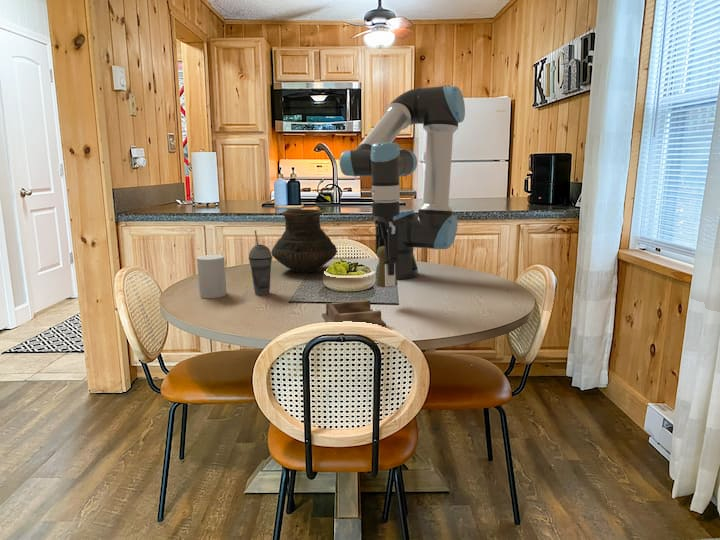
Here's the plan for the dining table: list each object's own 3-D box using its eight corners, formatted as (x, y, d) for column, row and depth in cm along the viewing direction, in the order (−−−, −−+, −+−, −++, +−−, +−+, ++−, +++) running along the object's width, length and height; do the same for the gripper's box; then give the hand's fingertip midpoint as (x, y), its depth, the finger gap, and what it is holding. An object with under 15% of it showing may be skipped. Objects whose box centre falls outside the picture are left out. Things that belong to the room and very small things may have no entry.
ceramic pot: (284, 263, 208) (282, 207, 203) (342, 264, 204) (341, 208, 199) (263, 276, 184) (260, 214, 180) (328, 278, 180) (327, 215, 176)
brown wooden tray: (372, 311, 141) (371, 298, 140) (385, 325, 129) (385, 312, 128) (321, 315, 138) (321, 302, 137) (331, 331, 125) (330, 316, 125)
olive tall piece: (374, 282, 148) (374, 244, 145) (395, 281, 148) (395, 243, 145) (377, 287, 142) (376, 248, 139) (398, 286, 142) (398, 247, 140)
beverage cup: (268, 296, 157) (265, 232, 153) (246, 295, 159) (242, 231, 154) (277, 291, 164) (274, 229, 160) (255, 290, 166) (252, 228, 161)
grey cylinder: (231, 292, 163) (229, 255, 160) (214, 299, 155) (211, 260, 153) (211, 290, 166) (209, 254, 163) (194, 296, 159) (190, 258, 156)
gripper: (363, 198, 147) (365, 276, 153) (382, 205, 129) (383, 293, 135) (388, 197, 149) (389, 274, 155) (410, 203, 131) (410, 290, 137)
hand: (386, 282), depth 145 cm, fingers closed on olive tall piece, 6 cm apart
